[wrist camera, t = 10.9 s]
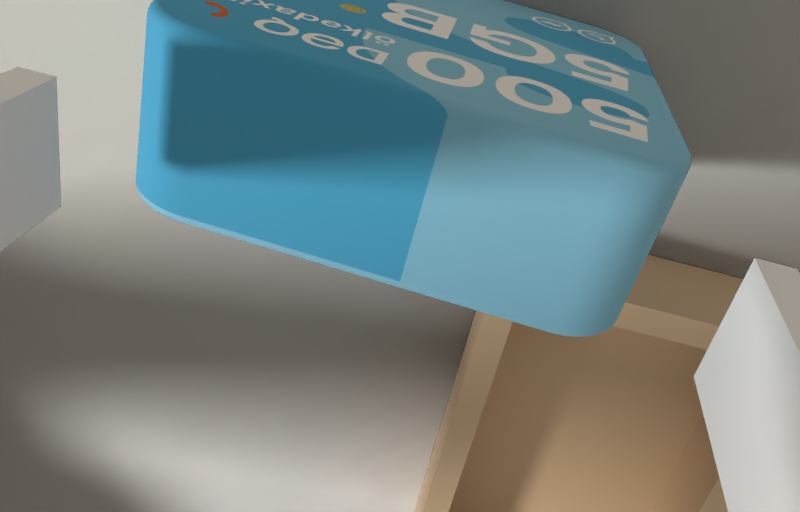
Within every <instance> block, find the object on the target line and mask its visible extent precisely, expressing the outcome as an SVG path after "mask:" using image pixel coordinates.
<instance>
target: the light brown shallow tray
mask: <svg viewBox="0 0 800 512" xmlns="http://www.w3.org/2000/svg"><path fill="white" fill-rule="evenodd" d="M742 281H743V279H742V278H738V277H734V276H730V275H726V274H722V273H718V272H714V271H711V270H707V269H703V268H699V267H695V266H691V265H687V264H683V263H679V262H675V261H671V260H668V259H664V258H660V257H656V256H652V255H648V256H647V258H646V260H645V262H644V264H643V266H642V269H641V271H640V273H639V275H638V277H637V279H636V281H635V283H634V285H633V287H632V289H631V292H630V294H629V296H628V298H627V300H626V302H625V304H624V306H623V308H622V310H621V312H620V315H619V317H618V318H617V320H616V322H615V323H614V324H613V325H612V326H611V327H610V328H609V329H607V330H606V331H604V332H602V333H599V334H596V335H592V336H584V337H573V336H564V335H559V334H554V333H550V332H547V331H543V330H540V329H536V328H533V327H530V326H526V325H523V324H520V323H516V322H513V321H510V320H506V319H503V318H500V317H496V316H493V315H490V314H486V313H483V312H480V311H475V315H474V318H473V321H472V325H471V328H470V331H469V334H468V338H467V341H466V344H465V348H464V351H463V354H462V357H461V361H460V364H459V367H458V371H457V374H456V377H455V380H454V384H453V387H452V390H451V394H450V397H449V400H448V404H447V407H446V410H445V413H444V417H443V420H442V423H441V427H440V430H439V433H438V436H437V440H436V443H435V446H434V450H433V453H432V456H431V459H430V463H429V466H428V469H427V473H426V476H425V479H424V482H423V486H422V489H421V492H420V496H419V499H418V502H417V505H416V509H415V512H728V509H727V505H726V501H725V497H724V494H723V490H722V486H721V482H720V478H719V474H718V470H717V466H716V462H715V458H714V454H713V450H712V447H711V443H710V439H709V435H708V431H707V427H706V423H705V419H704V415H703V411H702V407H701V403H700V399H699V396H698V392H697V388H696V384H695V380H694V375H695V373H696V371H697V369H698V367H699V365H700V363H701V361H702V359H703V357H704V355H705V353H706V351H707V349H708V347H709V346H710V344H711V342H712V340H713V338H714V336H715V334H716V332H717V330H718V328H719V326H720V324H721V322H722V320H723V318H724V316H725V314H726V312H727V310H728V309H729V307H730V305H731V303H732V301H733V299H734V297H735V295H736V293H737V291H738V289H739V287H740V285H741V283H742Z"/></svg>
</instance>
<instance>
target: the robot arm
mask: <svg viewBox="0 0 800 512" xmlns="http://www.w3.org/2000/svg"><path fill="white" fill-rule="evenodd" d="M59 207H61V188H60V161H59V133H58V106H57V78H56V77H55V76H51V75H48V74H44V73H40V72H36V71H32V70H28V69H24V68H21V67H16V68H14V69H12V70H9V71H7V72H5V73H2V74H0V252H1V251H2V250H3V249H5V248H6V247H7V246H9V245H10V244H11V243H13V242H14V241H15V240H17V239H18V238H19V237H21V236H22V235H23V234H25V233H26V232H27V231H29V230H30V229H31V228H33V227H34V226H35V225H37V224H38V223H39V222H41V221H42V220H43V219H45V218H46V217H47V216H49V215H50V214H51V213H53V212H54V211H55V210H57V209H58V208H59ZM694 380H695V384H696V388H697V392H698V396H699V399H700V403H701V407H702V411H703V415H704V419H705V423H706V427H707V431H708V435H709V439H710V443H711V447H712V450H713V454H714V458H715V462H716V466H717V470H718V474H719V478H720V482H721V486H722V490H723V494H724V497H725V501H726V505H727V509H728V512H800V272H799V271H798V269H796V268H792V267H788V266H784V265H780V264H776V263H773V262H769V261H765V260H761V259H757V258H754V260H753V262H752V264H751V266H750V268H749V270H748V272H747V274H746V275H745V277H744V279H743V281H742V283H741V285H740V287H739V289H738V291H737V293H736V295H735V297H734V299H733V301H732V303H731V305H730V307H729V309H728V310H727V312H726V314H725V316H724V318H723V320H722V322H721V324H720V326H719V328H718V330H717V332H716V334H715V336H714V338H713V340H712V342H711V344H710V346H709V347H708V349H707V351H706V353H705V355H704V357H703V359H702V361H701V363H700V365H699V367H698V369H697V371H696V373H695V375H694Z"/></svg>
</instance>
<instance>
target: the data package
mask: <svg viewBox="0 0 800 512" xmlns="http://www.w3.org/2000/svg"><path fill="white" fill-rule="evenodd" d="M690 166H691V154H690V151H689V149H688V147H687V145H686V142H685V140H684V138H683V136H682V134H681V132H680V130H679V128H678V125H677V123H676V121H675V119H674V117H673V115H672V113H671V110H670V108H669V106H668V104H667V102H666V100H665V98H664V96H663V93H662V91H661V89H660V87H659V85H658V83H657V81H656V78H655V76H654V74H653V72H652V70H651V68H650V66H649V64H648V61H647V59H646V57H645V55H644V53H643V51H642V50H641V48H640V47H639V46H637V45H636V44H635V43H633V42H631V41H630V40H628V39H626V38H624V37H622V36H620V35H617V34H615V33H612V32H610V31H607V30H604V29H601V28H598V27H595V26H592V25H588V24H585V23H581V22H578V21H574V20H571V19H568V18H564V17H561V16H557V15H554V14H550V13H547V12H543V11H540V10H536V9H533V8H529V7H526V6H522V5H519V4H515V3H512V2H508V1H505V0H154V1H153V2H152V3H151V4H150V6H149V8H148V12H147V26H146V40H145V55H144V70H143V84H142V99H141V114H140V129H139V143H138V158H137V173H136V186H137V189H138V192H139V194H140V195H141V197H142V199H143V200H144V201H145V202H146V203H147V204H148V205H149V206H150V207H151V208H153V209H154V210H156V211H157V212H159V213H160V214H162V215H164V216H166V217H168V218H171V219H173V220H176V221H179V222H182V223H185V224H188V225H192V226H195V227H198V228H202V229H205V230H208V231H212V232H215V233H218V234H222V235H225V236H228V237H232V238H235V239H238V240H242V241H245V242H249V243H252V244H255V245H259V246H262V247H265V248H269V249H272V250H275V251H279V252H282V253H285V254H289V255H292V256H295V257H299V258H302V259H305V260H309V261H312V262H315V263H319V264H322V265H326V266H329V267H332V268H336V269H339V270H342V271H346V272H349V273H352V274H356V275H359V276H362V277H366V278H369V279H372V280H376V281H379V282H382V283H386V284H389V285H392V286H396V287H399V288H403V289H406V290H409V291H413V292H416V293H419V294H423V295H426V296H429V297H433V298H436V299H439V300H443V301H446V302H449V303H453V304H456V305H459V306H463V307H466V308H469V309H473V310H476V311H480V312H483V313H486V314H490V315H493V316H496V317H500V318H503V319H506V320H510V321H513V322H516V323H520V324H523V325H526V326H530V327H533V328H536V329H540V330H543V331H547V332H550V333H554V334H559V335H564V336H573V337H584V336H592V335H596V334H599V333H602V332H604V331H606V330H607V329H609V328H610V327H611V326H612V325H613V324H614V323H615V322H616V320H617V318H618V317H619V315H620V312H621V310H622V308H623V306H624V304H625V302H626V300H627V298H628V296H629V294H630V292H631V289H632V287H633V285H634V283H635V281H636V279H637V277H638V275H639V273H640V271H641V269H642V266H643V264H644V262H645V260H646V258H647V256H648V254H649V252H650V250H651V248H652V246H653V244H654V241H655V239H656V237H657V235H658V233H659V231H660V229H661V227H662V225H663V223H664V221H665V218H666V216H667V214H668V212H669V210H670V208H671V206H672V204H673V202H674V200H675V198H676V195H677V193H678V191H679V189H680V187H681V185H682V183H683V181H684V179H685V177H686V175H687V173H688V170H689V168H690Z"/></svg>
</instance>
